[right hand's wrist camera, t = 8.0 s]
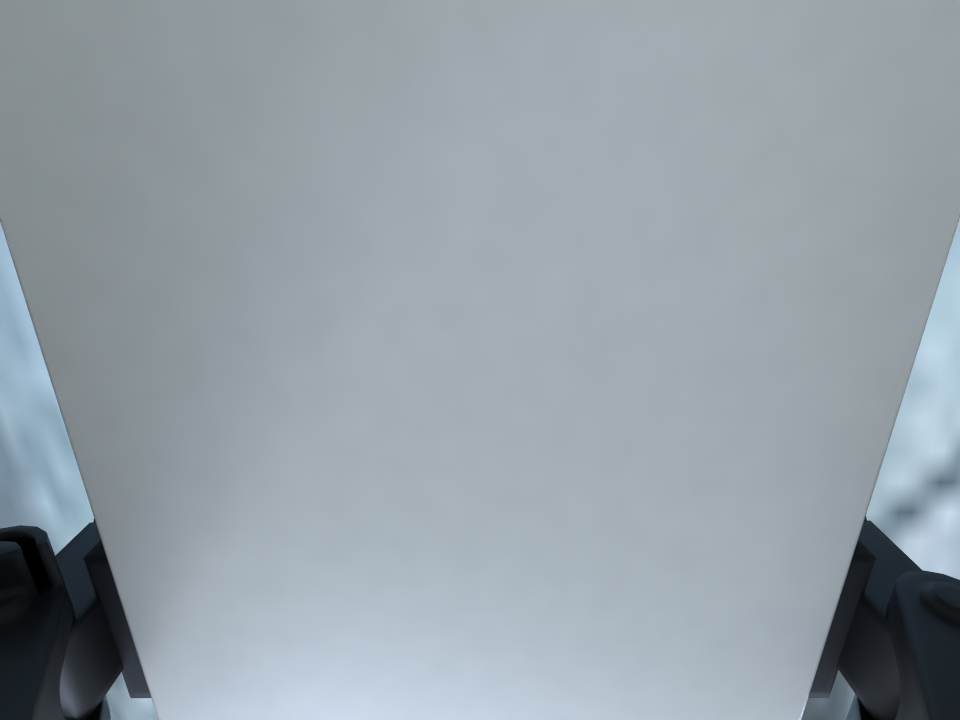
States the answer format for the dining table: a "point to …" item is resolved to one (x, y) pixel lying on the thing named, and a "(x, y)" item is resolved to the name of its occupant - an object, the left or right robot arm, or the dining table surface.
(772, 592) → the long white beam
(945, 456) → the dining table surface
